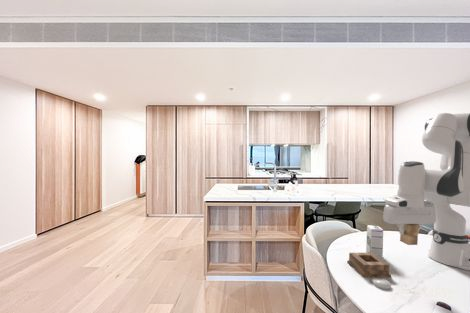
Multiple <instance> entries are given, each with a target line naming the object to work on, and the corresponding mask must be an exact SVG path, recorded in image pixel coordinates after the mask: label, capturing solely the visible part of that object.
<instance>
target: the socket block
mask: <svg viewBox="0 0 470 313" xmlns="http://www.w3.org/2000/svg"><path fill="white" fill-rule="evenodd" d="M348 256H349V257H348V260H347V264H348V265H349V266H350V267H351V268H353V269H354V271H355V272H357V273H358V274H359V275H360V276H361V277H362V278H374V277H379V278H392V274H391V273H390V264H389V263H388V262H386V261H384V259H383V258H379V257H378V256H376V255H375V254H373V253H367V252H349V254H348Z"/></svg>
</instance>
